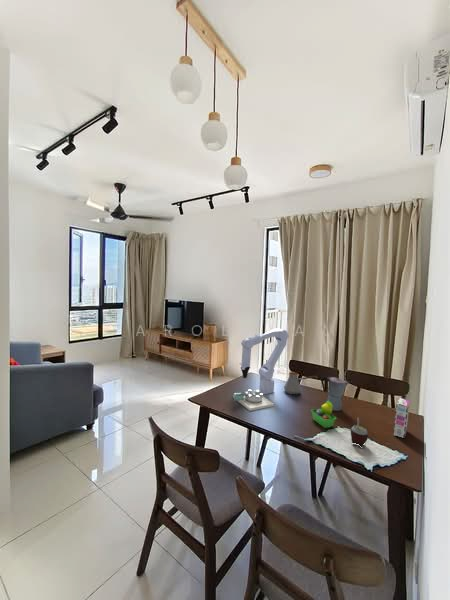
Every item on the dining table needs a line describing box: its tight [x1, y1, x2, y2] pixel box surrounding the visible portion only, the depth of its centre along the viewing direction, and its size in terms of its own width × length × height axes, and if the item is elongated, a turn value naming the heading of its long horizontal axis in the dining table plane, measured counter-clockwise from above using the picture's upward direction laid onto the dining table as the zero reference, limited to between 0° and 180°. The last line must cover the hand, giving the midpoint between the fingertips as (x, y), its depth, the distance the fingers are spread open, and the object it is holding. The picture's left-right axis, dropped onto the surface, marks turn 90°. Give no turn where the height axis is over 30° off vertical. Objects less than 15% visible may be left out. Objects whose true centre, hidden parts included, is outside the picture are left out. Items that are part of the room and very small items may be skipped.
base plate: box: [233, 395, 275, 412], centre depth 161 cm, size 17×19×2 cm
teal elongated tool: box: [233, 389, 264, 403], centre depth 159 cm, size 18×11×5 cm, turn 114°
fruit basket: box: [311, 400, 337, 429], centre depth 139 cm, size 11×9×11 cm
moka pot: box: [320, 375, 350, 412], centre depth 158 cm, size 10×15×20 cm, turn 78°
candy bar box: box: [393, 397, 411, 439], centre depth 133 cm, size 11×5×16 cm, turn 141°
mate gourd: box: [350, 416, 369, 447], centre depth 120 cm, size 8×8×15 cm
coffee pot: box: [283, 372, 318, 395], centre depth 176 cm, size 21×12×15 cm, turn 57°
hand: (244, 377), depth 172 cm, fingers closed
